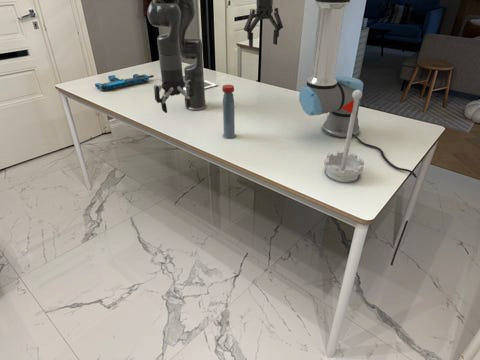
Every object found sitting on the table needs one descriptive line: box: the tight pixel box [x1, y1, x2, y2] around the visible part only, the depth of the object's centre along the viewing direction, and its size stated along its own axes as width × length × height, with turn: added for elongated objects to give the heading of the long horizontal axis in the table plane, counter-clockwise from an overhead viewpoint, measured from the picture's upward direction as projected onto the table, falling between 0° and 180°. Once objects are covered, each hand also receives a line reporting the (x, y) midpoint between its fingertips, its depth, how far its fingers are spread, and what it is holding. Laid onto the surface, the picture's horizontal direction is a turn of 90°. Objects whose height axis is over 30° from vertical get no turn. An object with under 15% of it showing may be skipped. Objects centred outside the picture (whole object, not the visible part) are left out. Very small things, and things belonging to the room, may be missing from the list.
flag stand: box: [323, 90, 365, 183], centre depth 111 cm, size 13×13×30 cm
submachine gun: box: [94, 73, 155, 91], centre depth 208 cm, size 34×4×25 cm
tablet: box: [183, 73, 219, 92], centre depth 208 cm, size 32×20×1 cm, turn 41°
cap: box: [221, 84, 235, 93], centre depth 134 cm, size 5×5×2 cm
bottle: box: [222, 92, 236, 139], centre depth 140 cm, size 5×5×21 cm
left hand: (176, 110), depth 128 cm, fingers open, 8 cm apart
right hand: (263, 45), depth 167 cm, fingers open, 13 cm apart
